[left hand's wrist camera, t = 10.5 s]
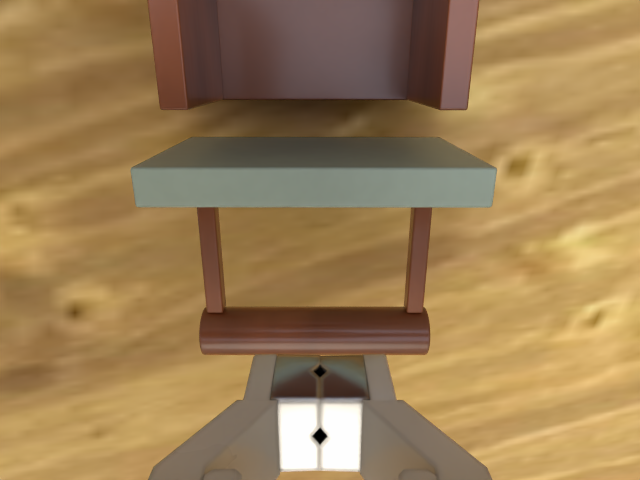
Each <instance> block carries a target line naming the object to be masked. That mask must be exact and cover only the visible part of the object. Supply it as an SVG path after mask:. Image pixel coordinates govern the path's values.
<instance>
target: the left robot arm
mask: <svg viewBox="0 0 640 480" xmlns="http://www.w3.org/2000/svg"><path fill="white" fill-rule="evenodd" d="M286 471H354V472H360V474H361V476H362V477H363V478H364V480H492V478H491V476H490V474H489V471H488V469H487V467H486V466H484V465H483V464H482V463H481V462H479V461H478V460H477V459H476V458H474V457H473V456H472V455H471V454H469V453H468V452H467V451H466V450H464V449H463V448H462V447H461V446H459V445H458V444H457V443H456V442H454V441H453V440H452V439H451V438H449V437H448V436H447V435H446V434H445V433H443V432H442V431H441V430H440V429H438V428H437V427H436V426H435V425H433V424H432V423H431V422H430V421H428V420H427V419H426V418H425V417H423V416H422V415H421V414H420V413H418V412H417V411H416V410H415V409H413V408H412V407H411V406H410V405H408V404H407V403H406V402H405V401H403V400H397V399H396V395H395V391H394V387H393V382H392V378H391V374H390V370H389V366H388V362H387V357H386V355H385V354H365V355H332V356H320V355H290V354H278V355H276V354H256V355H255V356H254V357H253V361H252V365H251V370H250V374H249V378H248V382H247V386H246V391H245V395H244V399H243V400H237V401H235V402H234V403H233V404H232V405H230V406H229V407H228V408H227V409H225V410H224V411H223V412H222V413H220V414H219V415H218V416H217V417H215V418H214V419H213V420H212V421H210V422H209V423H208V424H207V425H205V426H204V427H203V428H202V429H200V430H199V431H198V432H197V433H195V434H194V435H193V436H192V437H190V438H189V439H188V440H187V441H185V442H184V443H183V444H182V445H180V446H179V447H178V448H177V449H175V450H174V451H173V452H172V453H170V454H169V455H168V456H167V457H165V458H164V459H163V460H162V461H160V462H159V463H158V464H157V465H155V466H154V467H153V469H152V472H151V474H150V476H149V479H148V480H276V479H277V477H278V476H279V475H280V472H286Z"/></svg>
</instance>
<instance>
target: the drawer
mask: <svg viewBox="0 0 640 480" xmlns="http://www.w3.org/2000/svg"><path fill="white" fill-rule="evenodd" d="M478 8H479V0H148V9H149V18H150V26H151V35H152V43H153V52H154V60H155V69H156V78H157V86H158V95H159V103H160V109H162V110H188V109H191V108H195V107H199V106H202V105H206V104H209V103H213V102H216V101H220V100H410V101H413V102H416V103H419V104H423V105H426V106H429V107H432V108H436V109H439V110H467V108H468V99H469V90H470V81H471V72H472V63H473V53H474V44H475V35H476V26H477V17H478ZM496 173H497V169H496V168H495V167H493V166H492V165H490V164H488V163H486V162H484V161H482V160H480V159H479V158H477V157H475V156H473V155H471V154H469V153H467V152H466V151H464V150H462V149H460V148H458V147H456V146H455V145H453V144H451V143H449V142H447V141H445V140H443V139H442V138H440V137H191V138H189V139H187V140H185V141H183V142H181V143H179V144H177V145H175V146H173V147H171V148H169V149H167V150H165V151H163V152H161V153H159V154H157V155H155V156H153V157H151V158H149V159H148V160H146V161H144V162H142V163H140V164H138V165H136V166H134V167H132V168H131V176H132V183H133V190H134V197H135V204H136V207H197V214H198V224H199V234H200V245H201V255H202V265H203V276H204V286H205V296H206V308H205V309H204V310H203V313H202V316H201V321H200V330H199V340H200V348H201V351H202V353H203V354H204V355H256V354H276V355H278V354H290V355H365V354H385V355H426V354H427V353H428V350H429V346H430V324H429V317H428V314H427V311H426V309H425V308H424V307H423V304H424V293H425V282H426V271H427V260H428V248H429V237H430V226H431V215H432V207H466V208H489V207H491V206H492V202H493V195H494V188H495V181H496ZM218 207H411V218H410V231H409V245H408V258H407V272H406V285H405V299H404V306H405V307H225V306H226V300H225V287H224V274H223V262H222V249H221V237H220V224H219V212H218Z"/></svg>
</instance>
